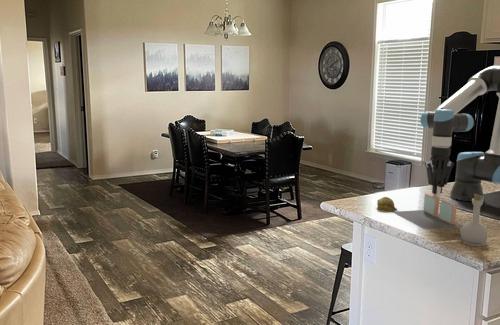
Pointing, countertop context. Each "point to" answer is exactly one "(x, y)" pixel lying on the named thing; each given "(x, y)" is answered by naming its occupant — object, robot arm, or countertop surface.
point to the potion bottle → (474, 226)
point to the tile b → (447, 211)
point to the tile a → (431, 204)
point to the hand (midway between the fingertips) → (436, 201)
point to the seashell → (386, 204)
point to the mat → (425, 219)
